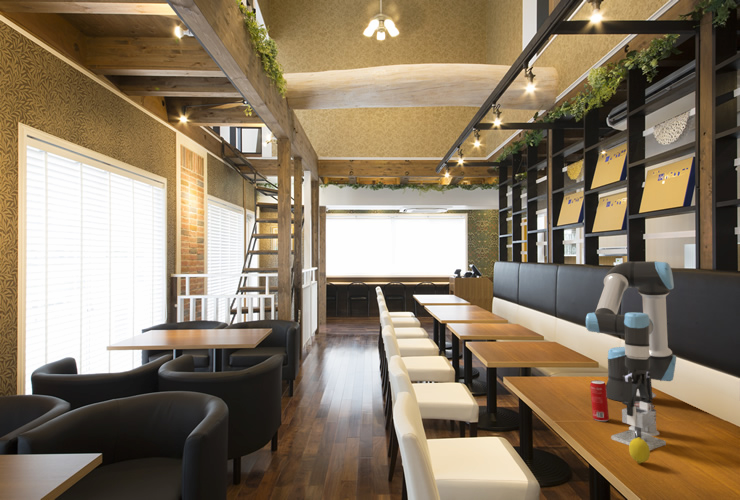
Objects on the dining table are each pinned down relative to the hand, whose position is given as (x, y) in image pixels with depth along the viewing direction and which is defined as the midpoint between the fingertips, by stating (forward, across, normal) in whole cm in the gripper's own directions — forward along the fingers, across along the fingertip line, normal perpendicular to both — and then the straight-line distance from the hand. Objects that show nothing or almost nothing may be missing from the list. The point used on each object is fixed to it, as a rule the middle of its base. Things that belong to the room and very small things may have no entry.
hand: (637, 422), depth 154 cm
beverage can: (+7, -9, -20) cm, 23 cm away
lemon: (+7, +17, +10) cm, 21 cm away
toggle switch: (+7, 0, 0) cm, 7 cm away
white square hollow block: (0, 0, 0) cm, 0 cm away
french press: (+7, -12, -4) cm, 14 cm away
